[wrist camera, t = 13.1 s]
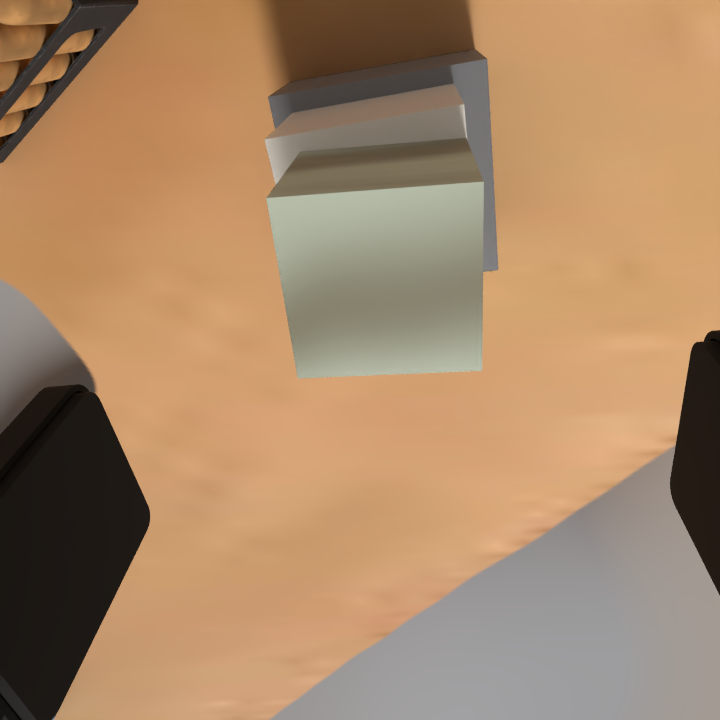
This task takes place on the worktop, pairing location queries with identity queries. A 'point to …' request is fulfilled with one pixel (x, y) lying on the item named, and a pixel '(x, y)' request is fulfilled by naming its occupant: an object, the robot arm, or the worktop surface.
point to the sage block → (382, 258)
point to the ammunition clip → (47, 55)
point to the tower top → (369, 124)
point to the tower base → (403, 77)
